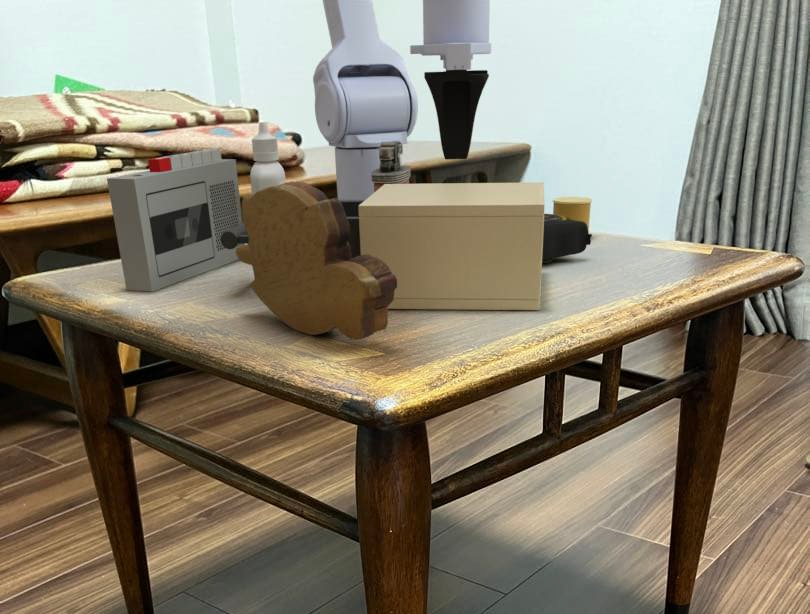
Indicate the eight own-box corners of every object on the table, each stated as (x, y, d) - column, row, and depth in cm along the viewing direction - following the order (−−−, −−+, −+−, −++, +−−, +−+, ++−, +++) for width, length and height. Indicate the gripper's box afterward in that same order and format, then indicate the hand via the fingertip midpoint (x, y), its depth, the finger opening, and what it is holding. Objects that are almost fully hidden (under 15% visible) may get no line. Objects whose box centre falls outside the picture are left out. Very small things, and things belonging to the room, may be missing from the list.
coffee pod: (550, 234, 95) (552, 196, 93) (588, 234, 94) (591, 196, 92) (551, 241, 91) (553, 202, 89) (590, 241, 91) (593, 202, 89)
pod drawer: (215, 294, 70) (205, 217, 67) (255, 264, 80) (248, 197, 77) (427, 295, 68) (426, 216, 65) (441, 265, 78) (441, 195, 75)
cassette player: (152, 291, 75) (131, 165, 70) (126, 289, 76) (104, 165, 71) (246, 256, 88) (234, 148, 83) (223, 255, 89) (209, 147, 84)
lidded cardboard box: (363, 308, 68) (358, 205, 65) (387, 274, 79) (384, 183, 75) (539, 310, 66) (544, 204, 63) (539, 274, 77) (543, 182, 74)
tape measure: (532, 270, 79) (534, 227, 77) (487, 258, 84) (488, 217, 82) (590, 261, 82) (593, 219, 80) (543, 249, 87) (545, 210, 85)
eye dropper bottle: (306, 247, 91) (296, 120, 85) (280, 258, 87) (268, 124, 81) (269, 246, 93) (257, 120, 87) (242, 256, 88) (227, 124, 82)
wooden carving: (420, 345, 59) (417, 186, 54) (370, 360, 56) (362, 195, 52) (272, 306, 70) (259, 170, 65) (224, 318, 67) (206, 177, 62)
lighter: (401, 256, 86) (399, 145, 81) (368, 255, 87) (363, 145, 82) (417, 241, 93) (415, 138, 88) (386, 240, 94) (382, 138, 89)
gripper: (410, -9, 81) (413, 152, 87) (407, -21, 68) (411, 168, 75) (487, -11, 81) (484, 150, 87) (498, -24, 68) (494, 166, 74)
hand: (455, 158), depth 81 cm, fingers closed
